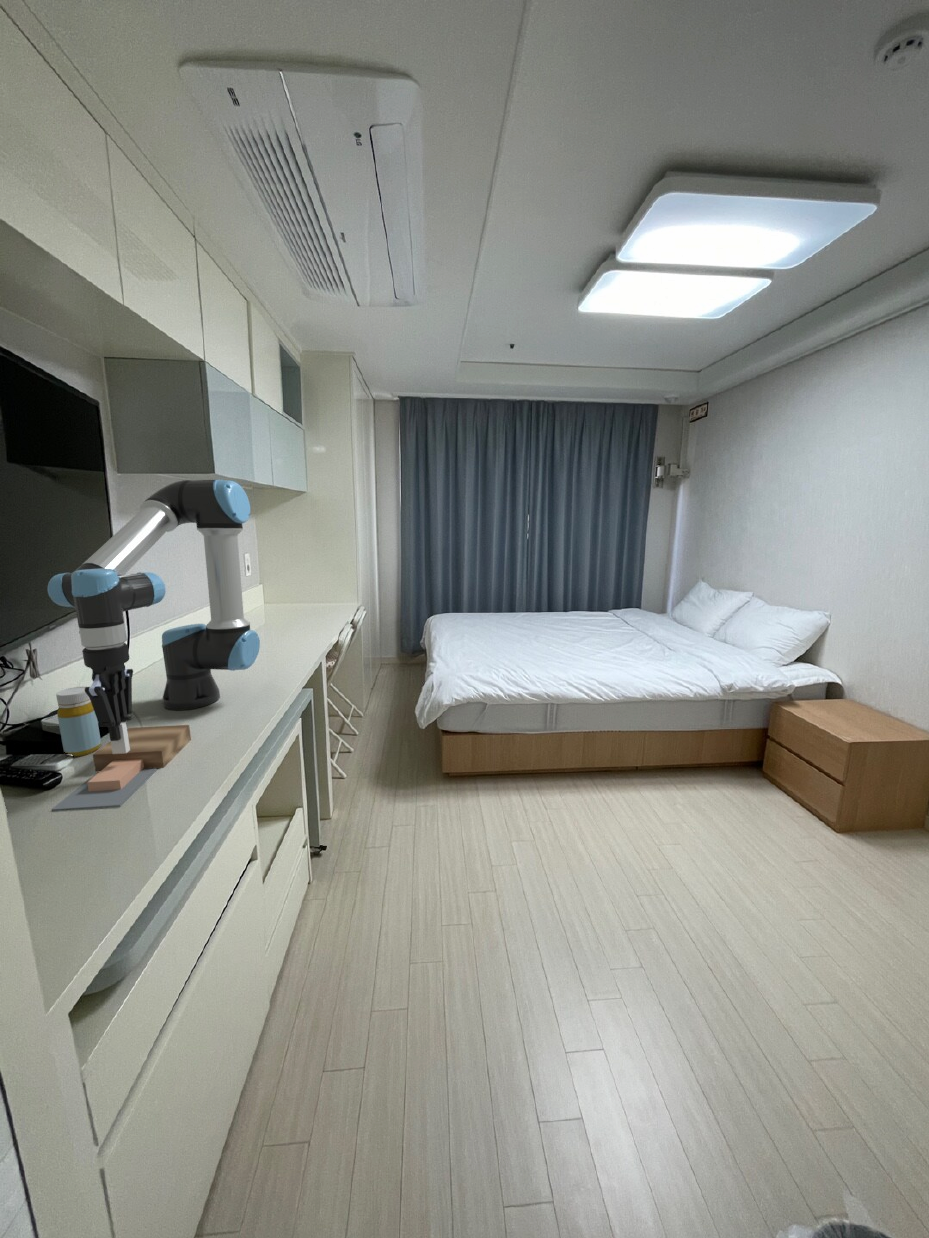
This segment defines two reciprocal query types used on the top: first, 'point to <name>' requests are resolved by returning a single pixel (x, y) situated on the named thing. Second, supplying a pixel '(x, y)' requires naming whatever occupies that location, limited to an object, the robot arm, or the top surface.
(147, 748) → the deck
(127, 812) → the top surface
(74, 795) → the mat
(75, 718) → the bottle
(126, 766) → the tile
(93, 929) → the top surface
